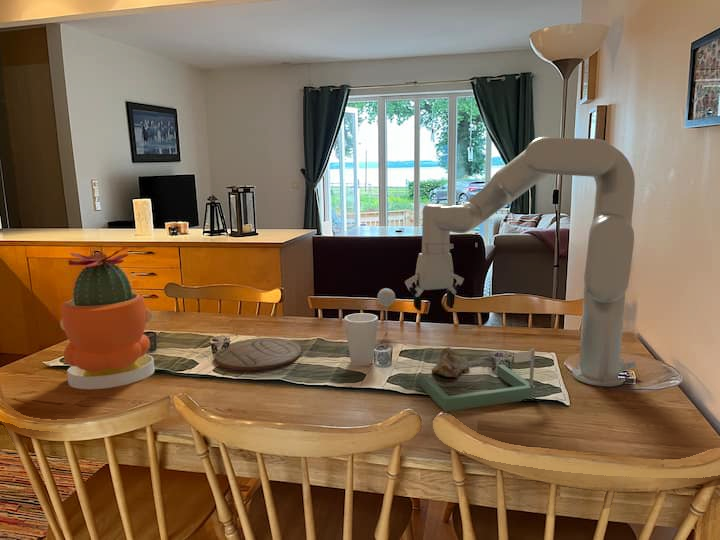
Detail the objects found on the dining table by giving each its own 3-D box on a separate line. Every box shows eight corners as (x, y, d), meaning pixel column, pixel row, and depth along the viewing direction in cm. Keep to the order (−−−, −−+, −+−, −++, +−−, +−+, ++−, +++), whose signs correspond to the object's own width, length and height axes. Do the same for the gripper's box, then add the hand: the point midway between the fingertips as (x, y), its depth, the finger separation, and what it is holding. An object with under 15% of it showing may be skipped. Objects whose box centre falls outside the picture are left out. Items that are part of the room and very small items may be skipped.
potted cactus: (71, 371, 152) (56, 247, 146) (156, 360, 160) (145, 241, 153) (60, 401, 132) (41, 259, 126) (157, 387, 140) (144, 252, 133)
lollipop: (375, 330, 184) (374, 287, 181) (391, 328, 186) (391, 285, 183) (381, 335, 178) (380, 291, 175) (398, 333, 180) (397, 289, 177)
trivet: (240, 380, 144) (239, 373, 144) (200, 356, 163) (200, 350, 163) (317, 358, 160) (317, 351, 160) (273, 338, 179) (273, 332, 179)
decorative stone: (471, 346, 152) (465, 371, 139) (470, 360, 153) (464, 386, 140) (437, 343, 155) (428, 367, 141) (437, 357, 156) (428, 382, 143)
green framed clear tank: (502, 375, 144) (503, 331, 141) (535, 398, 129) (537, 350, 127) (420, 385, 138) (420, 340, 136) (445, 411, 123) (445, 361, 121)
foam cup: (375, 368, 150) (374, 323, 147) (342, 366, 152) (341, 321, 149) (380, 356, 159) (380, 313, 157) (349, 355, 161) (348, 312, 158)
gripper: (458, 245, 157) (456, 302, 161) (401, 248, 153) (400, 307, 156) (470, 249, 150) (467, 309, 154) (410, 252, 146) (409, 314, 149)
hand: (433, 308), depth 155 cm, fingers open, 9 cm apart
